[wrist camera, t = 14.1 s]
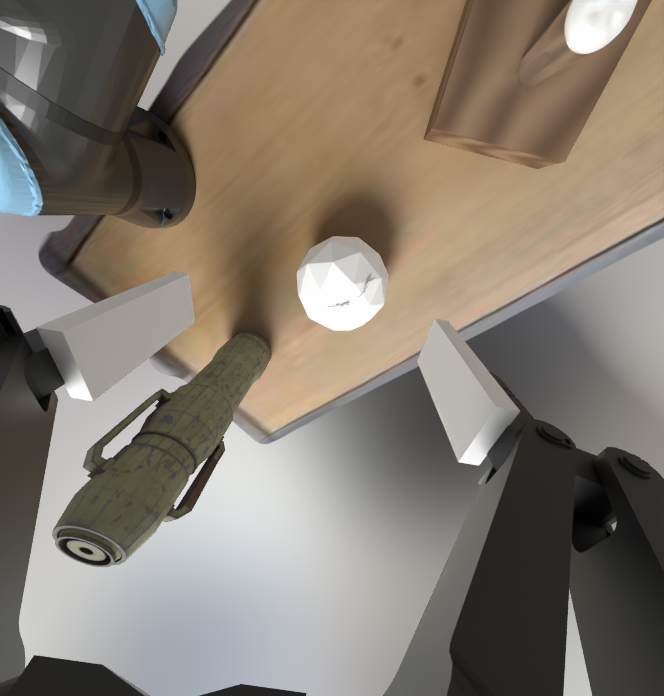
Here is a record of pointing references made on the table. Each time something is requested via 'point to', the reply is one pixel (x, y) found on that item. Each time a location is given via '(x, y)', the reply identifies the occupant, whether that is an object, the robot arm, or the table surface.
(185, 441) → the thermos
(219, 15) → the table surface
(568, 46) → the milkshake
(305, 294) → the geodesic sphere
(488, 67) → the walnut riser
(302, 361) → the table surface
